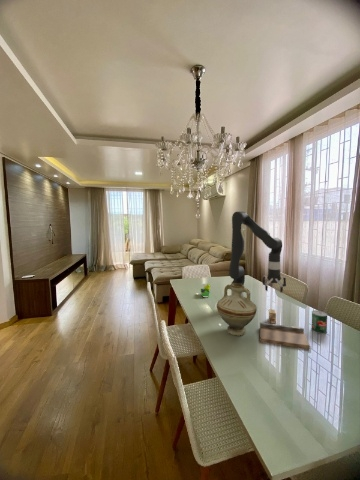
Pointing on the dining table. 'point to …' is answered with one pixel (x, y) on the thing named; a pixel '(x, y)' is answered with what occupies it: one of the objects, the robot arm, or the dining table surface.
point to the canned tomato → (319, 321)
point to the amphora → (236, 309)
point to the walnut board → (283, 335)
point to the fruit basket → (205, 290)
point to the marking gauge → (272, 316)
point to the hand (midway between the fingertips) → (273, 291)
